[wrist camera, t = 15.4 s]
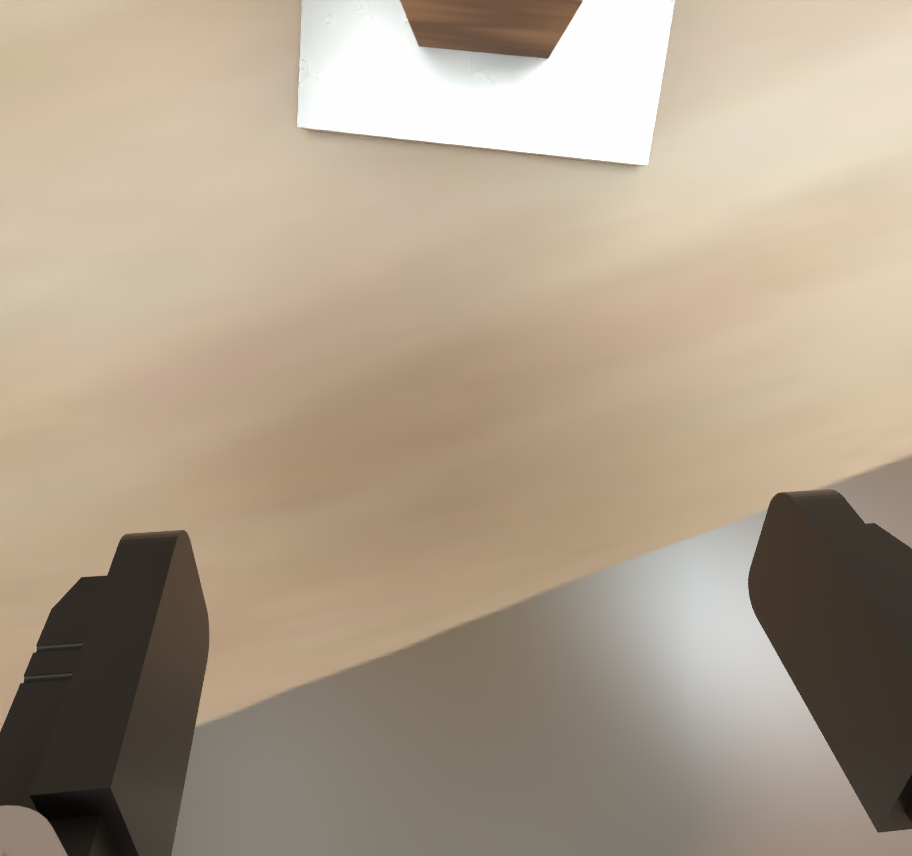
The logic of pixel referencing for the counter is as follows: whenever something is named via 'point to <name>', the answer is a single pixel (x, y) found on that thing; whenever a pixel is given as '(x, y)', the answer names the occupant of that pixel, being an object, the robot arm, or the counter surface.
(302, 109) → the press
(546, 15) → the block
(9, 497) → the counter surface
